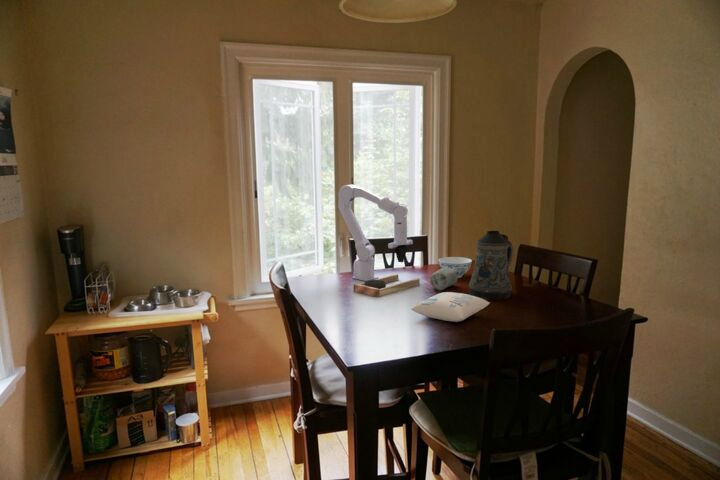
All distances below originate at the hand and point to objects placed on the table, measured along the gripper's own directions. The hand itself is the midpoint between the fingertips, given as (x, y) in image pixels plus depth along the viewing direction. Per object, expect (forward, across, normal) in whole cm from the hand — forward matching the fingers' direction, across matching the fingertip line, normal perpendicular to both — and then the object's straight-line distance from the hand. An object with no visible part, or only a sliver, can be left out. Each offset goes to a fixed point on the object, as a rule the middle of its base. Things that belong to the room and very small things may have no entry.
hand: (400, 262), depth 204 cm
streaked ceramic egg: (+9, +2, -22) cm, 24 cm away
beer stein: (+9, +7, -41) cm, 42 cm away
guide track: (+8, -14, -4) cm, 17 cm away
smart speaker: (+9, -21, -4) cm, 23 cm away
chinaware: (+9, +22, -14) cm, 27 cm away
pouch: (+9, -28, -46) cm, 54 cm away
